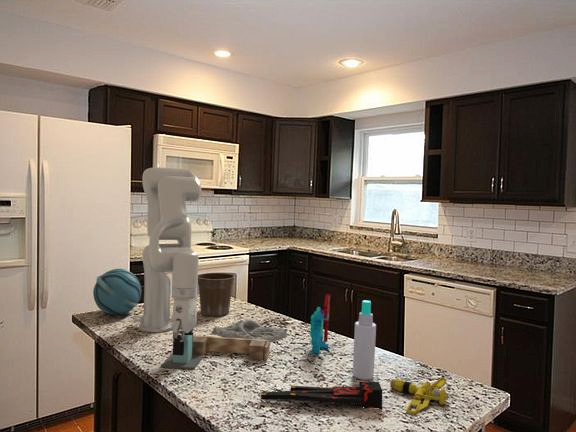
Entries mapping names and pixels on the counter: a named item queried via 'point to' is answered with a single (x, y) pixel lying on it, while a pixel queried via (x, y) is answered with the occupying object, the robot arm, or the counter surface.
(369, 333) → the spray bottle
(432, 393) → the sprinkler
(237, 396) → the counter surface
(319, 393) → the toy
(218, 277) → the object
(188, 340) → the block
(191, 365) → the pad
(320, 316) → the toy
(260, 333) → the wall plaque
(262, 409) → the counter surface
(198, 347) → the rack
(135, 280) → the toy
